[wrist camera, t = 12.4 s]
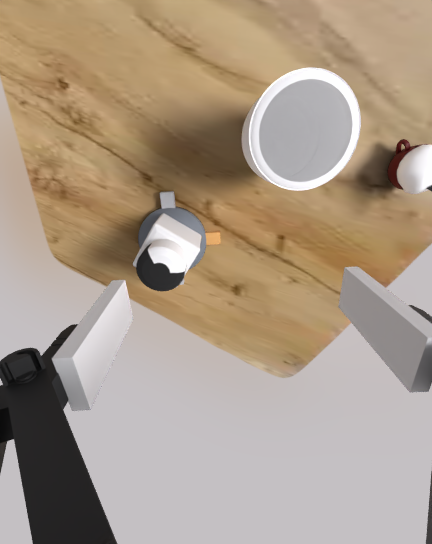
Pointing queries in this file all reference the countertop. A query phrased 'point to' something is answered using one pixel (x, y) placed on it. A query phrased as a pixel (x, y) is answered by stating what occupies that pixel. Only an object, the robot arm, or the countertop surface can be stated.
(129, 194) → the countertop surface
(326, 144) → the jar
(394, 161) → the cocoa
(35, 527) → the robot arm
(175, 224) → the medicine bottle
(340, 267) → the countertop surface
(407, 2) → the countertop surface
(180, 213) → the pad
